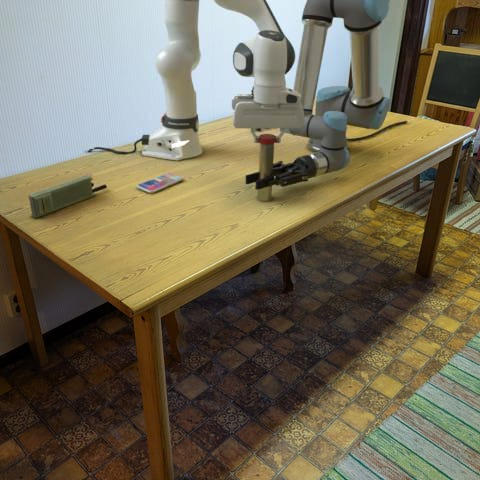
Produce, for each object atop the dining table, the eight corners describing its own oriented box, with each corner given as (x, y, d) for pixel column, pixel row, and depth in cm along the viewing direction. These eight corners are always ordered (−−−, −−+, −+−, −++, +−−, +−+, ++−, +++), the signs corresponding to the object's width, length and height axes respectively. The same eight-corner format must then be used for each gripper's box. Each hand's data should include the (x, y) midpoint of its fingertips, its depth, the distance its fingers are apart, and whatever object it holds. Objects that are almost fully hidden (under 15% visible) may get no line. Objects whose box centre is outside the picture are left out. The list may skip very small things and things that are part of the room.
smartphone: (184, 177, 167) (150, 191, 157) (184, 180, 167) (151, 194, 157) (168, 171, 171) (134, 185, 161) (168, 174, 171) (135, 188, 161)
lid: (257, 143, 145) (257, 138, 144) (259, 138, 149) (260, 133, 149) (274, 145, 144) (274, 139, 144) (276, 139, 149) (276, 134, 148)
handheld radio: (30, 215, 144) (102, 188, 161) (37, 219, 142) (109, 191, 159) (26, 193, 140) (100, 168, 157) (33, 197, 138) (107, 171, 155)
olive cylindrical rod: (256, 196, 157) (258, 136, 148) (268, 195, 158) (271, 135, 149) (260, 202, 153) (262, 141, 144) (273, 200, 155) (276, 140, 145)
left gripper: (232, 97, 137) (231, 146, 144) (307, 97, 138) (303, 146, 145) (231, 91, 143) (231, 139, 149) (303, 91, 143) (300, 139, 150)
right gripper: (327, 186, 158) (269, 204, 146) (290, 169, 170) (234, 184, 158) (329, 163, 154) (270, 180, 142) (292, 147, 166) (234, 161, 154)
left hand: (267, 142), depth 147 cm, fingers closed on lid, 5 cm apart
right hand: (251, 182), depth 150 cm, fingers closed on olive cylindrical rod, 4 cm apart
